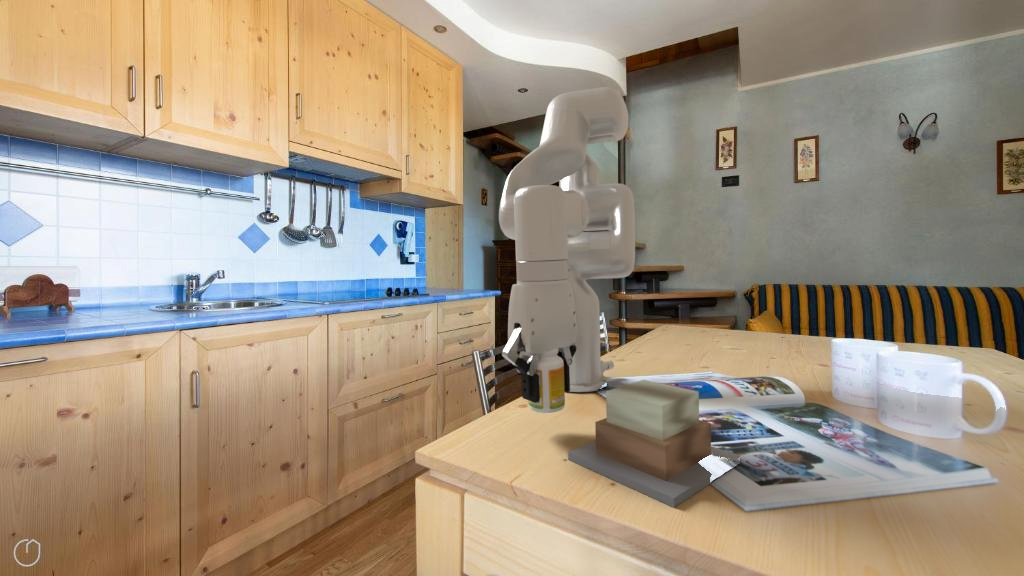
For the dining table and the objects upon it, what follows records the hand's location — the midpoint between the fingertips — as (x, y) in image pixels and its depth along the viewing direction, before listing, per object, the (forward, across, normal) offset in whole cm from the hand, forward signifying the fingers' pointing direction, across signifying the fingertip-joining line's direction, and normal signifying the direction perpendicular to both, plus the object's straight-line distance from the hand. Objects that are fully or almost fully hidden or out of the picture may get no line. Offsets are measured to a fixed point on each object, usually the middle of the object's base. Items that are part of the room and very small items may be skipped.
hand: (546, 393), depth 65 cm
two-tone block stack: (+6, -4, +16) cm, 17 cm away
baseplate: (+6, -4, +16) cm, 17 cm away
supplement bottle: (+2, 0, 0) cm, 2 cm away
